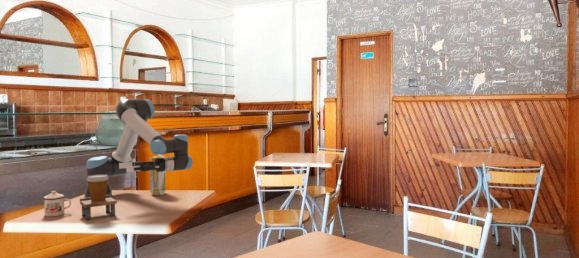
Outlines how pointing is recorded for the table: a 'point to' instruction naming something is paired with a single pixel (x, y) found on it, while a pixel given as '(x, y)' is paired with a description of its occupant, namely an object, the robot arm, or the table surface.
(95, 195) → the disposable coffee cup
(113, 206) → the peg shelf
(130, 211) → the table surface
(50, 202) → the teacup with lid
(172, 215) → the table surface
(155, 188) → the juice carton
